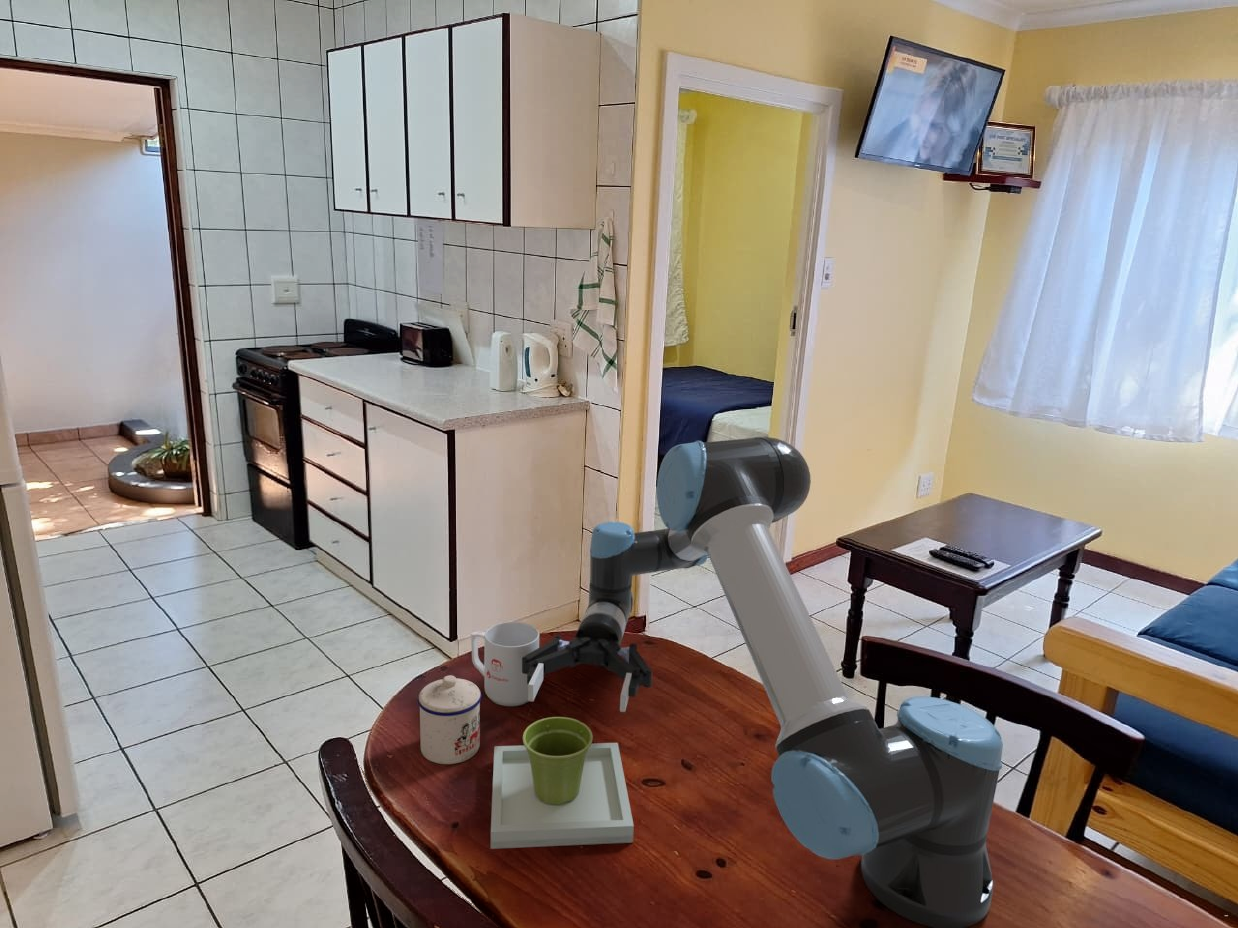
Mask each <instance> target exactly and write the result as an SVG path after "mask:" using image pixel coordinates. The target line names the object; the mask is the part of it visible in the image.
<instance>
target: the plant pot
mask: <svg viewBox="0 0 1238 928" xmlns="http://www.w3.org/2000/svg"><path fill="white" fill-rule="evenodd" d="M593 738H594V737H593V732H592V730H591V728H590V727H589V726H587V724H585V723H583V722H581V721H580V720H578V719H575V718H571V717H566V716H552V717H551V716H550V717H546V718H544V717H543V718H542V719H538V720H536V721H534V722H533V723H531V724H529V725H528V726H527V727H526V728H525V730H524V731H523V735H522V743H523V745H524V746H525V747H526V749H527V752H528V754H529V757H530V763H531V770H532V776H533V784H534V791H535V794H536V795H537V796H538V798H539V799H540V800H541V801H542V802H545V803H548V804H553V805H560V804H563V803H565V802H566V801H572V800H574V799H575V798H576V797H577V795H578V793H579V789H580V783H581V777H582V771H583V766H584V760H585V755H586V754H587V751H588V748H589V747H590V745H591V743H593V740H594V739H593Z"/></svg>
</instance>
